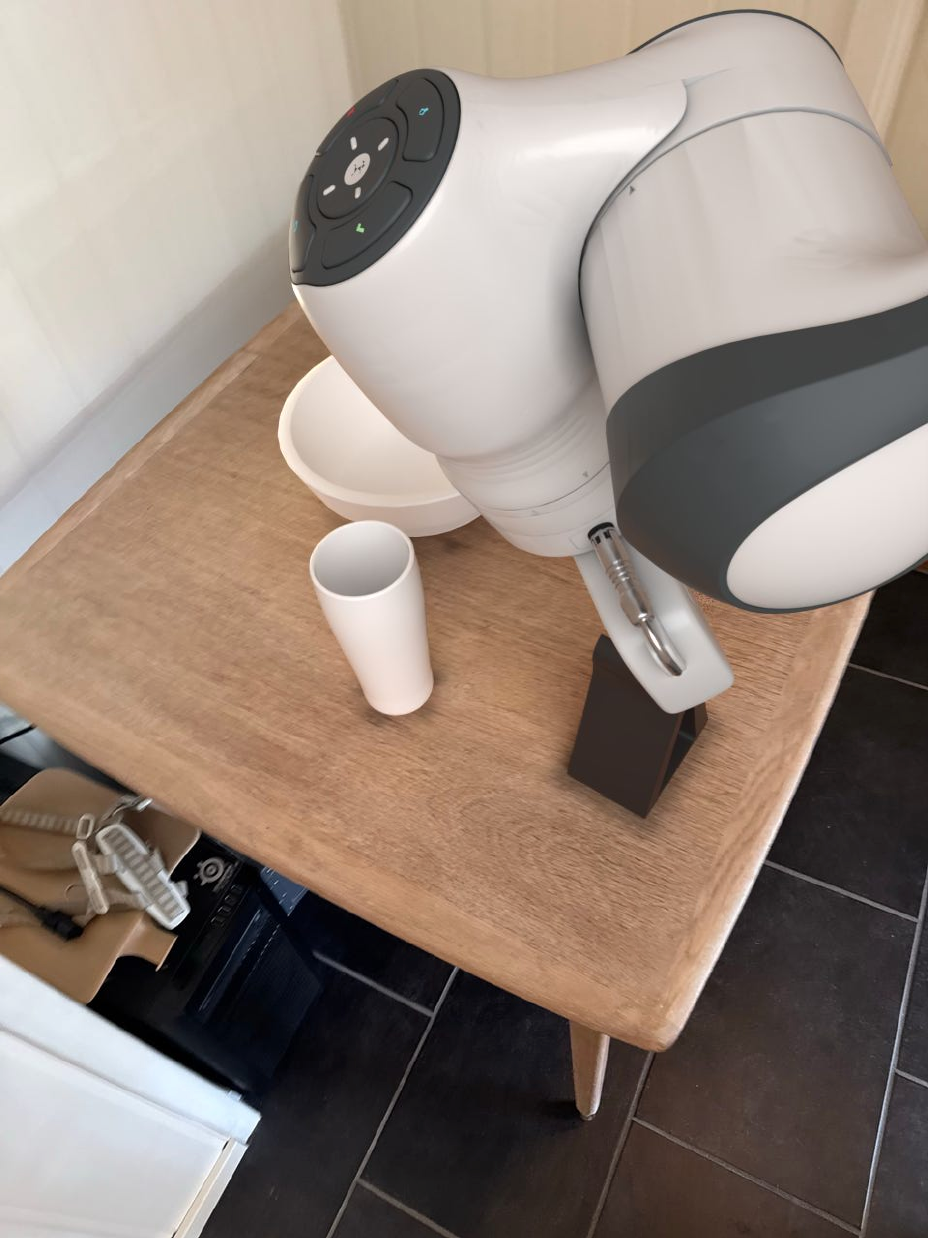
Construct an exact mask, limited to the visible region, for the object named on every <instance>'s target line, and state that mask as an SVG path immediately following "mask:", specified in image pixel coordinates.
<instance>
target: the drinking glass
mask: <svg viewBox="0 0 928 1238" xmlns="http://www.w3.org/2000/svg"><path fill="white" fill-rule="evenodd" d="M308 568H309V575H310V579H311V582H312V584H313V588H314V589H313V590H314V592H315V595H316V598H317V601H318V603H319V606H320V609H321V611H322V614H323V617H324V618H325V620H326V623H327V625H328V626H329V629H330V630H331V632H332V634H333V637H334V638H335V640H336V641H337V643H338V646H339V647H340V649H341V650H342V652H343V654H344V656H345V658H346V660H347V662H348V664H349V666H350V667H351V668H350V669H352V672H353V674H354V675H355V677H356V679H357V681H358V683H359V685H360V687H361V690H362V692H363V695H364V698H365V699H366V701H367V703H368V704H369V706H371V707H372V708H373V709H374V710H375V711H377V712H379V713H381V714H384V715H387V716H403V715H408V714H411V713H413V712H416V711H417V710H418V709H420V708H421V707H422V706H424V705H425V703H427V702H428V700H429V699H430V697H431V695H432V693H433V690H434V685H435V678H434V672H433V668H432V662H431V653H430V642H429V631H428V618H427V606H426V596H425V591H424V590H425V589H424V583H423V578H422V573H421V569H420V565H419V562H418V558H417V555H416V551H415V549H414V544H413V542H412V540H411V537H408V536H407V534H406V533H405V532H404V531H402V530H401V529H400V528H398V527H396V526H394V525H392V524H390V523H387V522H383V521H377V520H363V521H356V522H355V521H352V522H349V523H346V524H343V525H341V526H338V527H337V528H335V529H333V530H332V531H330V532H329V533H327V534H326V535H325V536H323V538H322V539H320V541H319V542H318V543H317V545H316V546H315V547H314V549H313V551H312V553H311V556H310V559H309V567H308Z"/></svg>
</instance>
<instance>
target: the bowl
mask: <svg viewBox="0 0 928 1238" xmlns="http://www.w3.org/2000/svg"><path fill="white" fill-rule="evenodd" d="M277 430H278V431H277V437H278V442H279V448H280V452H281V454H282V456H283V457H284V460H285V461H286V463H287V465H288V467H289V468H290V469H291V470H292V471H293V473H295V475H296V476H297V477H298V478H299V479H300V480H301V482H302V483H304V484H305V485H306V487H308V489H310V491H311V492H312V493H313V494H314V495H315V496H316V497H317V498H318V499H319V500H320V502H322V503H323V504H324V505H325V507H327V508H328V509H330V510H331V511H333V512H334V513H336V514H338V515H339V516H341V517H342V518H344V519H346V520H350V521H352V522H356V521H363V520H377V521H383V522H387V523H390V524H392V525H394V526H396V527H398V528H400V529H401V530H402V531H404V532H405V533H406V534H407V536H408V537H409V538H420V537H430V536H436V535H441V534H443V533H448V532H451V531H454V530H456V529H458V528H461V527H463V526H465V525H467V524H469V523H471V522H472V521H474V520H476V519H477V518H479V517H480V516H482V515H481V514H480V513H479V512H478V511H477V510H476V509H475V508H474V507H473V506H472V505H471V504H470V503H469V502H468V501H467V500H466V499H465V498H464V497H463V496H462V495H461V494H460V493H459V492H458V491H457V490H456V489H455V488H454V487H453V486H452V484H451V483H450V482H449V480H448V479H447V478H446V476H445V475H444V473H443V471H442V470H441V468H440V466H439V464H438V462H437V459H436V456H435V454H433V453H431V452H428V451H426V450H424V449H422V448H420V447H418V446H417V445H415V444H414V443H412V442H411V441H409V440H408V439H407V438H406V437H405V436H404V435H402V434H401V433H400V432H399V431H398V430H397V429H396V428H395V427H394V426H393V425H392V424H391V423H390V422H389V421H388V420H387V419H386V418H385V417H384V415H383V414H382V413H381V412H380V411H379V410H378V409H377V408H376V407H375V406H374V405H373V404H372V403H371V401H370V400H369V399H368V398H367V397H366V396H365V395H364V394H363V392H362V391H361V390H360V389H359V388H358V386H357V385H356V384H355V383H354V382H353V380H352V379H351V378H350V377H349V376H348V374H347V373H346V372H345V371H344V370H343V369H342V367H341V366H340V365H339V363H338V362H337V360H336V359H335V358H334V356H333V355H332V354H330V356H328V357H326V358H325V359H323V360H322V361H321V362H320V363H318V364H317V365H315V366H313V368H311V369H310V370H309V371H308V372H307V373H306V374H305V375H304V376H303V377H302V378H301V379H300V380H299V381H298V382H297V384H296V385H295V386H294V388H292V391H291V392H290V394H289V395H288V396H287V398H286V401H285V403H284V405H283V407H282V409H281V413H280V415H279V422H278V429H277Z"/></svg>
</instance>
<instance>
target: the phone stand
mask: <svg viewBox="0 0 928 1238" xmlns="http://www.w3.org/2000/svg"><path fill="white" fill-rule="evenodd" d="M591 662H592V671H591V677H590V680H589V686H588V688H587V692H586V697H585V701H584V705H583V709H582V712H581V717H580V721H579V725H578V729H577V732H576V737H575V740H574V744H573V748H572V753H571V756H570V760H569V764H568V768H567V772H566V773H567V775H568V776H569V777H571V778H573V779H574V780H576V781H578V782H580V783H581V784H583V785H584V786H586V787H588V788H589V789H591V790H593V791H595V792H596V793H598V794H600V795H601V796H604V797H605V798H607V799H608V800H610V801H612V802H614V803H615V804H617V805H619V806H620V807H622V808H624V809H625V810H627V811H629V812H630V813H633V814H634V815H636V816H638V817H640V818H641V819H642V820H646V818H647V817H648V816H649V814H650V813H651V811H652V810H653V808H654V806H655V805H656V803H657V802H658V800H659V798H660V797H661V796H662V795H663V792H664V791H665V789H666V788H667V786H668V784H669V783H670V781H671V780H672V779H673V776H674V775H675V773H676V771H677V770H678V768H680V766H681V764H682V762H683V761H684V759H685V757H687V755H688V753H689V752H690V750H691V748H692V747H693V746H694V744H695V742H696V741H697V740H698V738H699V736H700V734H701V733H702V731H703V730H704V728H705V726H706V725H707V723H708V720H709V716H708V712H707V711H708V710H707V706H706V701H705V702H703V703H701V704H699V705H697V706H694V707H692V708H690V709H687V710H685V711H682V712H679V713H674V714H671V713H667V712H665V711H664V710H663V709H661V708H660V706H659V705H658V704H657V703H656V702H655V701H654V700H653V698H652V697H651V696H650V695H649V694H648V692H647V691H646V690H645V689H644V687H643V686H642V685H641V684H640V682H639V681H638V680H637V679H636V678H635V676H634V675H633V673H632V672H631V671H630V669H629V668H628V666H627V665H626V664H625V662H624V660H623V659H622V657H621V656H620V654H619V652H618V651H617V649H616V647H615V646H614V644H613V642H612V640H611V638H610V636H609V635H608V636H607V635H606V634H605V633H600V635H599V637H598V639H597V641H596V643H595V646H594V649H593V652H592V657H591Z"/></svg>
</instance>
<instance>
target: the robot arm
mask: <svg viewBox="0 0 928 1238" xmlns="http://www.w3.org/2000/svg"><path fill="white" fill-rule="evenodd" d="M892 166H894V165H893V162H892V160H891V157H890V155H889V152H888V150H887V148H886V145H885V144H884V142H883V140H882V138H881V136H880V134H879V132H878V130H877V128H876V126H875V125H874V122H873V120H872V118H871V115H870V113H869V111H868V109H867V107H866V105H865V104H864V101H863V100H862V98H861V96H860V94H859V92H858V90H857V89H856V87H855V85H854V83H853V81H852V80H851V77H850V76H849V74H848V72H847V70H846V67H845V65H844V63H843V61H842V59H841V57H840V55H839V53H838V52H837V50H836V49H835V47H834V46H833V45H832V44H831V42H830V41H829V40H828V39H827V38H826V37H825V36H824V35H823V34H822V33H821V32H820V31H818V30H817V29H816V28H814V27H812V26H811V25H810V24H808V23H806V22H804V21H802V20H801V19H799V18H796V17H793V16H792V15H788V14H784V13H781V12H778V11H772V10H765V9H754V8H741V9H740V8H739V9H729V10H721V11H717V12H712V13H708V14H705V15H700V16H698V17H694V18H692V19H688V20H685V21H683V22H680V23H678V24H676V25H674V26H671V27H670V28H667V29H665V30H664V31H662V32H660V33H659V34H656V35H655V36H653V37H652V38H650V39H648V40H647V41H645V42H643V43H642V44H640V45H638V46H637V47H635V48H634V49H632V50H631V51H629V52H628V53H627V54H625V55H623V56H619V57H616V58H612V59H608V60H606V61H602V62H599V63H596V64H592V65H588V66H583V67H579V68H574V69H570V70H566V71H561V72H560V71H559V72H556V73H550V74H545V75H535V76H529V77H510V78H509V77H494V76H488V75H487V76H486V75H482V74H478V73H474V72H471V71H467V70H462V69H459V68H455V67H449V66H440V65H439V66H438V65H437V66H436V65H431V66H424V67H423V66H422V67H419V68H414V69H412V70H409V71H406V72H403V73H401V74H398V75H396V76H394V77H392V78H390V79H388V80H387V81H385V82H383V83H382V84H380V85H379V86H378V87H376V88H374V89H372V90H371V91H369V92H368V93H367V94H366V95H364V96H363V97H361V98H360V99H359V100H358V101H357V102H356V103H354V104H353V105H352V106H351V107H350V108H349V109H348V110H346V112H345V113H344V114H343V115H342V116H341V117H340V118H339V120H337V122H336V123H335V124H334V125H333V127H332V128H331V129H330V130H329V132H328V133H327V134H326V136H325V137H324V138H323V140H322V141H321V143H320V144H319V146H318V147H317V149H316V151H315V155H314V157H313V158H312V160H311V162H310V164H309V166H308V167H307V169H306V171H305V173H304V176H303V177H302V181H300V183H299V184H298V187H297V189H296V192H295V198H294V201H293V205H292V210H291V216H290V220H289V232H288V233H289V234H288V271H289V278H290V283H291V286H292V290H293V292H294V295H295V297H296V299H297V302H298V303H299V305H300V307H301V309H302V311H303V313H304V315H305V316H306V318H307V320H308V321H309V323H310V325H311V327H312V328H313V330H314V332H315V333H316V334H317V336H318V338H319V339H320V341H322V343H323V344H324V345H325V347H326V349H327V350H328V351H329V352H330V355H333V356H334V358H335V359H336V360H337V362H338V363H339V365H340V366H341V367H342V369H343V370H344V371H345V372H346V373H347V374H348V376H349V377H350V378H351V379H352V380H353V382H354V383H355V384H356V385H357V386H358V388H359V389H360V390H361V391H362V392H363V394H364V395H365V396H366V397H367V398H368V399H369V400H370V401H371V403H372V404H373V405H374V406H375V407H376V408H377V409H378V410H379V411H380V412H381V413H382V414H383V415H384V417H385V418H386V419H387V420H388V421H389V422H390V423H391V424H392V425H393V426H394V427H395V428H396V429H397V430H398V431H399V432H400V433H401V434H402V435H404V436H405V437H406V438H407V439H408V440H409V441H411V442H412V443H414V444H415V445H417V446H418V447H420V448H422V449H424V450H426V451H428V452H431V453H433V454H435V456H436V459H437V462H438V464H439V466H440V468H441V470H442V471H443V473H444V475H445V476H446V478H447V479H448V480H449V482H450V483H451V484H452V486H453V487H454V488H455V489H456V490H457V491H458V492H459V493H460V494H461V495H462V496H463V497H464V498H465V499H466V500H467V501H468V502H469V503H470V504H471V505H472V506H473V507H474V508H475V509H476V510H477V511H478V512H479V513H480V514H481V515H480V516H482V517H483V519H485V520H486V522H488V523H489V525H490V526H491V527H492V528H494V530H496V532H498V534H499V535H501V537H502V538H503V539H504V540H505V541H507V542H508V543H509V544H511V545H513V546H514V547H516V548H517V549H519V550H522V551H523V552H526V553H529V554H532V555H536V556H541V557H548V558H565V557H566V558H567V557H572V558H573V560H574V562H575V564H576V566H577V569H578V572H579V573H580V575H581V578H582V580H583V582H584V585H585V587H586V590H587V591H588V594H589V596H590V598H591V600H592V602H593V605H594V607H595V609H596V611H597V613H598V615H599V618H600V620H601V622H602V624H603V627H604V629H605V631H606V633H607V635H608V637H610V638H611V640H612V642H613V644H614V646H615V647H616V649H617V651H618V652H619V654H620V656H621V657H622V659H623V660H624V662H625V664H626V665H627V666H628V668H629V669H630V671H631V672H632V673H633V675H634V676H635V678H636V679H637V680H638V681H639V682H640V684H641V685H642V686H643V687H644V689H645V690H646V691H647V692H648V694H649V695H650V696H651V697H652V698H653V700H654V701H655V702H656V703H657V704H658V705H659V706H660V708H661V709H663V710H664V711H665V712H667V713H671V714H674V713H679V712H682V711H685V710H687V709H690V708H692V707H694V706H697V705H699V704H701V703H703V702H705V703H706V702H708V701H710V699H713V698H715V697H717V696H719V695H720V694H722V693H725V691H727V690H728V689H730V688H731V687H732V686H733V684H734V682H735V673H734V669H733V667H732V664H731V662H730V660H729V658H728V657H727V654H726V652H725V650H724V648H723V646H722V645H721V643H720V641H719V639H718V637H717V635H716V633H715V631H714V630H713V627H712V625H711V623H710V622H709V619H708V618H707V616H706V614H705V612H704V610H703V609H702V607H701V604H700V603H699V601H698V599H697V597H696V595H695V593H694V591H696V592H697V593H699V594H701V595H704V596H706V597H708V598H710V599H713V600H715V601H718V602H720V603H722V604H727V605H728V606H730V607H734V608H736V609H739V610H743V611H746V612H749V613H754V614H761V615H787V614H797V613H803V612H809V611H814V610H819V609H822V608H827V607H830V606H833V605H837V604H841V603H844V602H846V601H849V600H853V599H855V598H858V597H861V596H863V595H865V594H868V593H870V592H872V591H875V590H877V589H879V588H881V587H883V586H885V585H888V584H890V583H891V582H893V581H895V580H897V579H900V578H901V577H903V576H904V575H906V574H908V573H909V572H911V571H913V570H915V569H917V567H919V566H921V565H923V564H924V563H926V562H927V561H928V240H927V239H926V237H925V235H924V233H923V230H922V228H921V227H920V224H919V222H918V221H917V218H916V216H915V214H914V211H913V210H912V208H911V206H910V204H909V202H908V200H907V198H906V195H905V194H904V192H903V190H902V188H901V186H900V183H899V181H898V180H897V177H896V176H895V173H894V171H893V170H892ZM693 590H694V591H693Z"/></svg>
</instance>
